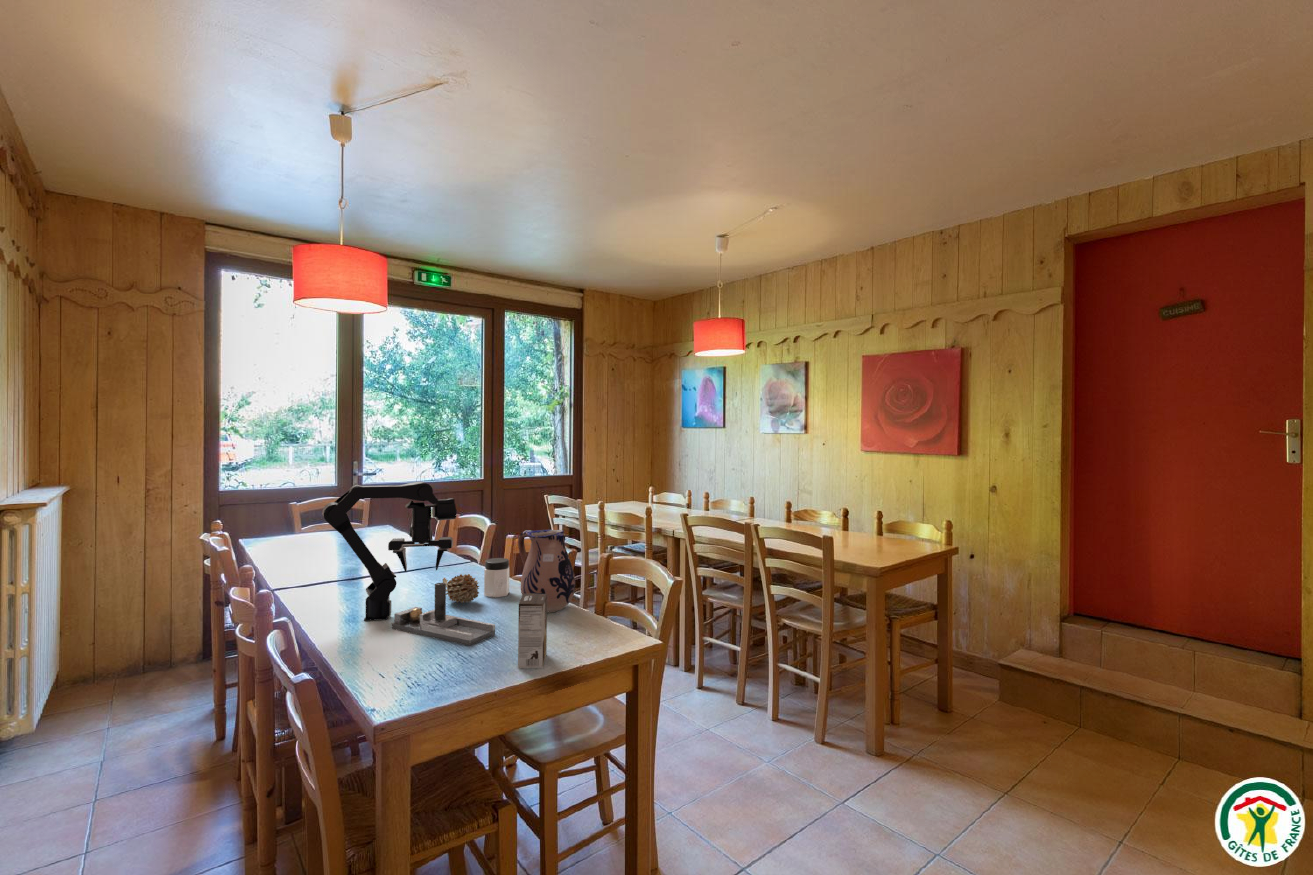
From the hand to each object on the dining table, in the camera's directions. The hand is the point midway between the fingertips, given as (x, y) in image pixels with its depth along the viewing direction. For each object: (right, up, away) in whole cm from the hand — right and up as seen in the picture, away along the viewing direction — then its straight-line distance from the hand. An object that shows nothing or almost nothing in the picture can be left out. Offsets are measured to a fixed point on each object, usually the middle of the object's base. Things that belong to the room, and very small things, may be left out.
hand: (421, 570), depth 194 cm
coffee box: (+43, -15, -40) cm, 61 cm away
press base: (+13, -14, -19) cm, 27 cm away
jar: (+18, -13, +21) cm, 31 cm away
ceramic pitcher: (+38, -14, +5) cm, 40 cm away
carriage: (+12, -12, -18) cm, 24 cm away
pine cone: (+7, -13, +12) cm, 19 cm away
